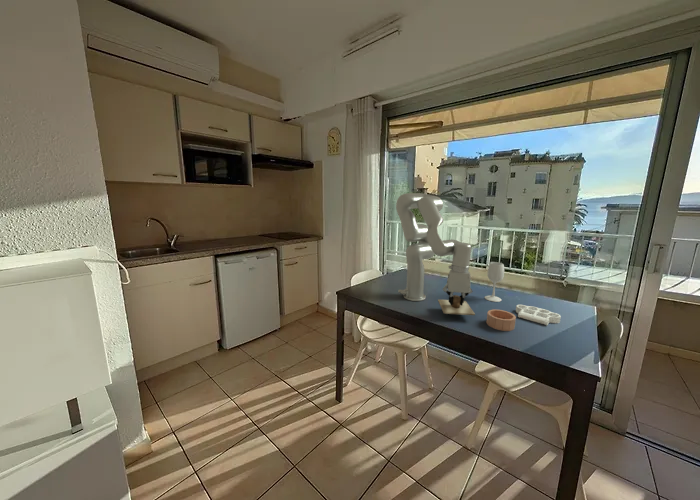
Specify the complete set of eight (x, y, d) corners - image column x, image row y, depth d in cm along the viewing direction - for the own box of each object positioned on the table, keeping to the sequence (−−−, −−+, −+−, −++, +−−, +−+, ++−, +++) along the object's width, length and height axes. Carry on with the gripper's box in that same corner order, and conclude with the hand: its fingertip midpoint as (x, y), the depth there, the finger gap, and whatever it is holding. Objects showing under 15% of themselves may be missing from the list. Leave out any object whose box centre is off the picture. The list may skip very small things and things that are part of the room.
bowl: (492, 330, 116) (493, 319, 115) (483, 318, 127) (484, 309, 126) (519, 331, 115) (520, 320, 114) (507, 319, 126) (508, 310, 125)
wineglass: (495, 303, 145) (499, 266, 141) (481, 297, 153) (484, 262, 149) (505, 300, 149) (509, 264, 145) (490, 295, 157) (494, 260, 153)
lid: (443, 313, 125) (445, 302, 124) (437, 300, 139) (438, 290, 137) (474, 315, 124) (476, 304, 122) (465, 302, 137) (467, 292, 136)
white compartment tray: (510, 316, 130) (519, 308, 140) (555, 329, 117) (562, 319, 127) (510, 310, 130) (520, 302, 139) (556, 322, 117) (563, 312, 126)
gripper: (443, 270, 124) (439, 306, 128) (481, 272, 122) (476, 308, 126) (440, 265, 131) (436, 299, 135) (475, 267, 129) (471, 302, 133)
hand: (455, 303), depth 131 cm, fingers closed on lid, 4 cm apart
